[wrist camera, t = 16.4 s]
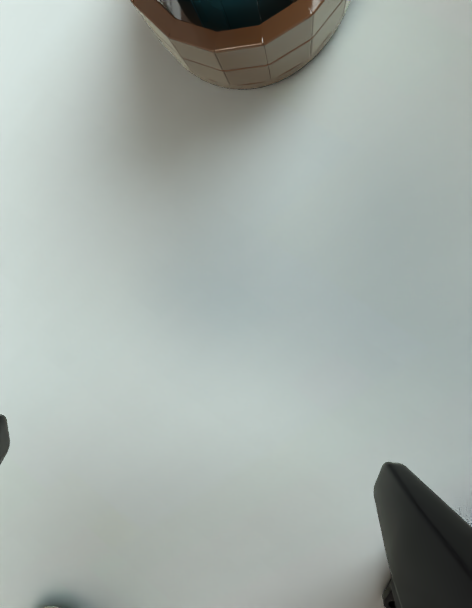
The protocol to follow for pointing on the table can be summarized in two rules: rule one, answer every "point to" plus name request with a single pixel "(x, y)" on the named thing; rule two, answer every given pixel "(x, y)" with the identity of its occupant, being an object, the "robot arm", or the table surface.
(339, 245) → the table surface
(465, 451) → the table surface
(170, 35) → the cup
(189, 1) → the tumbler
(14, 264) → the table surface
